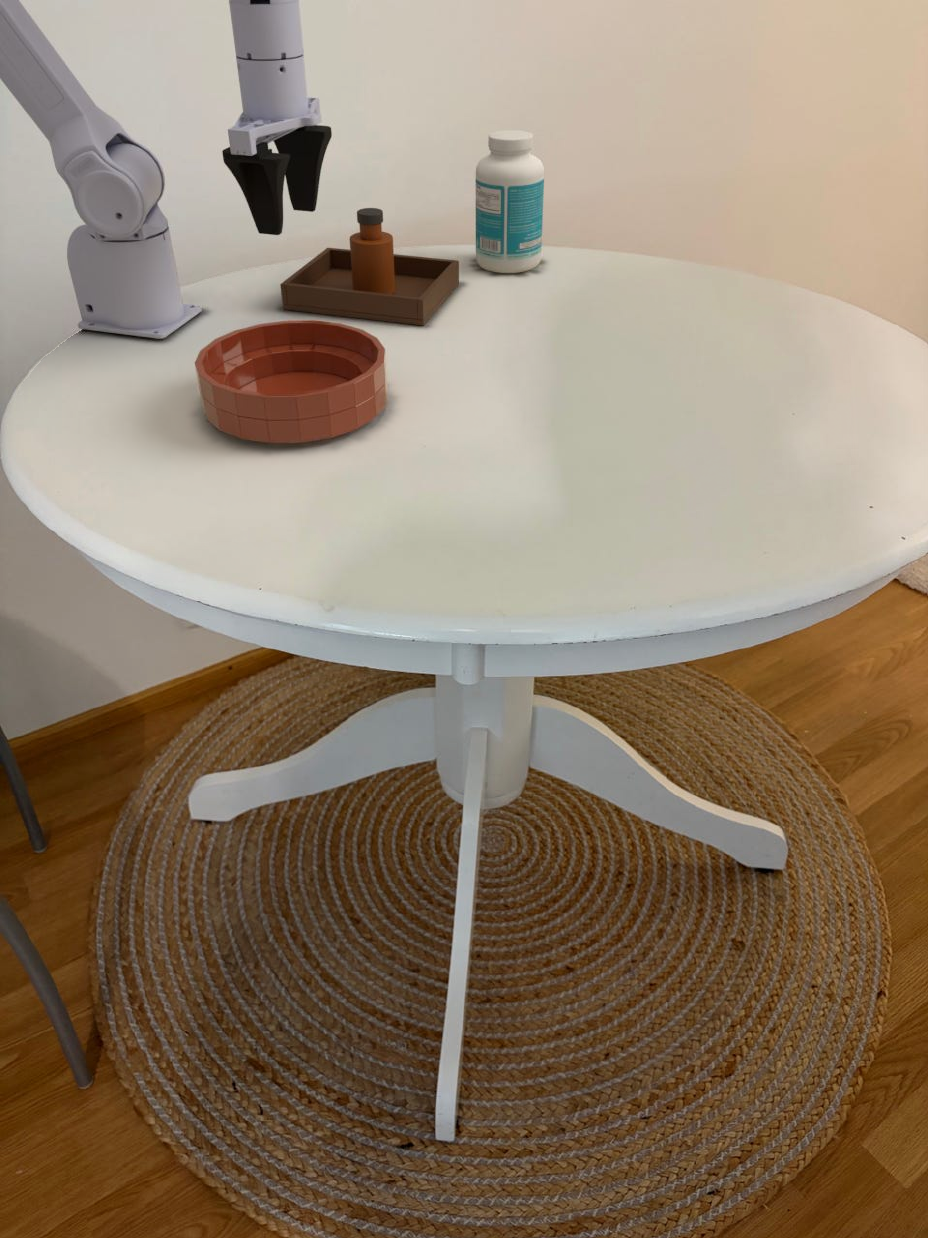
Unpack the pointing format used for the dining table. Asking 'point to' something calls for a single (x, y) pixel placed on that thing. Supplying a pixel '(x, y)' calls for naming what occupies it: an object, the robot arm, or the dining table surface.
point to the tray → (332, 293)
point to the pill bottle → (509, 204)
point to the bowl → (292, 381)
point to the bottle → (372, 254)
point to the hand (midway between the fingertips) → (287, 221)
